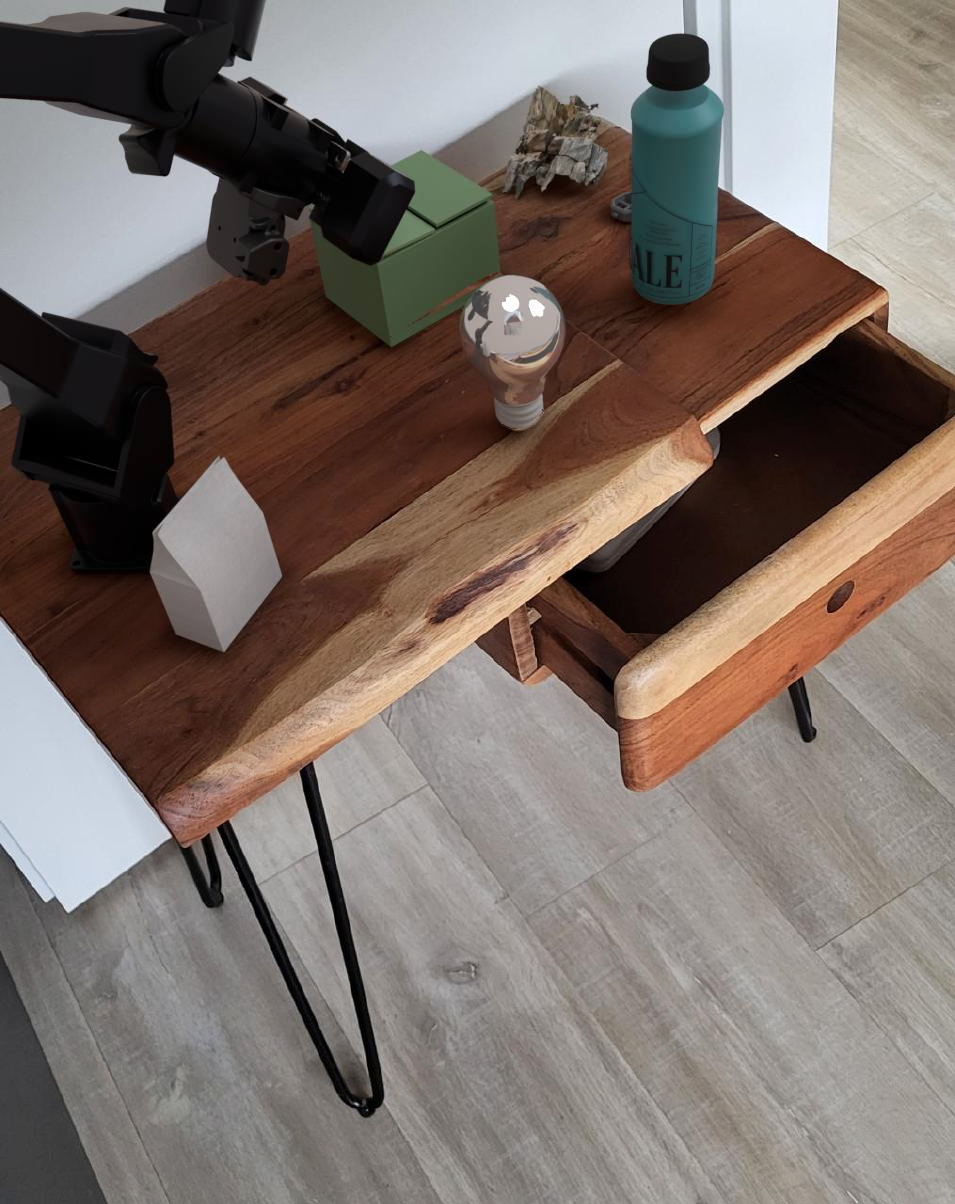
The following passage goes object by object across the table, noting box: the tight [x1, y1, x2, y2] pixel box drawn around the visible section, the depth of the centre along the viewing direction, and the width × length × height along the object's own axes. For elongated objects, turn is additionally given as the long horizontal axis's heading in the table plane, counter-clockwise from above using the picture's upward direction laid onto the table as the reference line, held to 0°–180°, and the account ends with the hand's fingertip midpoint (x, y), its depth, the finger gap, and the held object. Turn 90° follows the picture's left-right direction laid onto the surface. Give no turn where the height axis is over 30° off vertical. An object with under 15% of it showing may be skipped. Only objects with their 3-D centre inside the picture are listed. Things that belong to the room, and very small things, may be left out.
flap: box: [307, 204, 435, 257], centre depth 97 cm, size 5×9×1 cm, turn 39°
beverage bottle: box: [628, 32, 725, 306], centre depth 93 cm, size 6×7×20 cm
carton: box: [308, 149, 502, 348], centre depth 101 cm, size 11×9×8 cm
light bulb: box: [459, 273, 567, 432], centre depth 88 cm, size 7×7×12 cm
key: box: [610, 191, 631, 223], centre depth 109 cm, size 12×1×3 cm
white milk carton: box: [149, 455, 283, 653], centre depth 80 cm, size 4×7×10 cm, turn 153°
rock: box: [502, 85, 609, 201], centre depth 112 cm, size 8×15×4 cm, turn 165°
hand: (388, 206), depth 97 cm, fingers closed, pressing on flap
